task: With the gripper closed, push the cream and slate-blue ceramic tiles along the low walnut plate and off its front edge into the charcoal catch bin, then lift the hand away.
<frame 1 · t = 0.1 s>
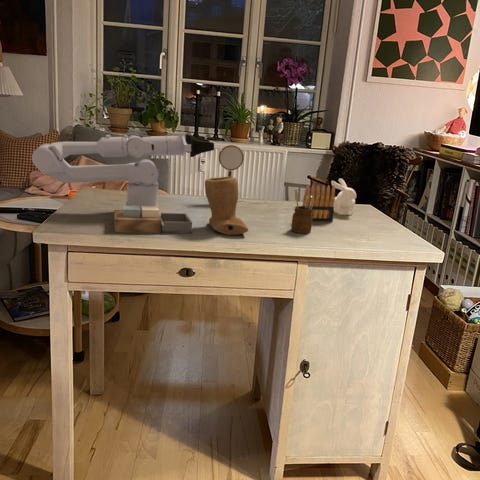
hand: (211, 144, 153), 22 cm above the table, tool horizontal, fingers open, 7 cm apart
tile slate: (131, 214, 137), point 3 cm above the table, touching walnut plate
catch bin: (174, 227, 141), on the table
utensil holder: (300, 231, 150), on the table
tile cream: (149, 215, 138), point 3 cm above the table, touching walnut plate
rabbit: (342, 213, 178), on the table
tan suede boot: (223, 229, 144), on the table
magnifying glass: (227, 202, 179), on the table
ammunition clip: (316, 221, 163), on the table
walnut plate: (136, 227, 138), on the table
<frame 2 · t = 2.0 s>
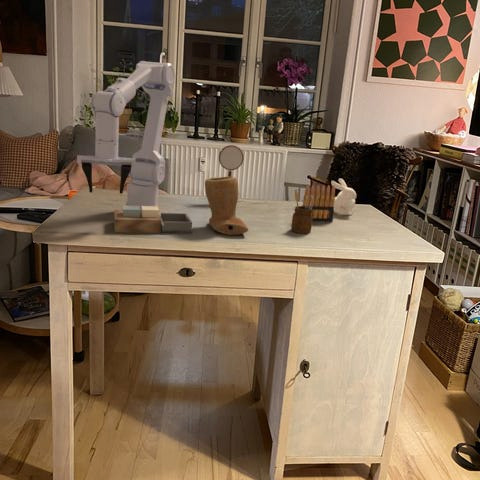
hand: (106, 192, 133), 9 cm above the table, tool pointing down, fingers open, 7 cm apart
nothing on the table moved.
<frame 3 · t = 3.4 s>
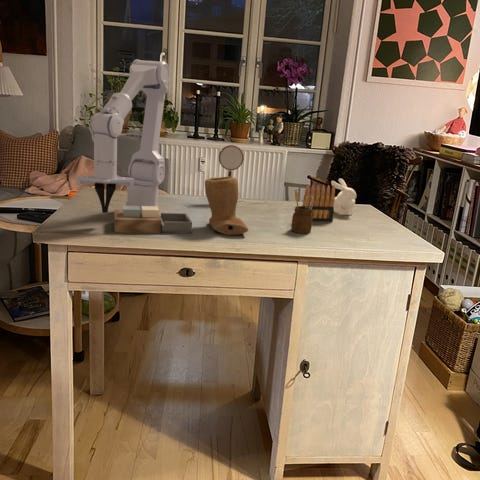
hand: (105, 211, 135), 4 cm above the table, tool pointing down, fingers closed
nothing on the table moved.
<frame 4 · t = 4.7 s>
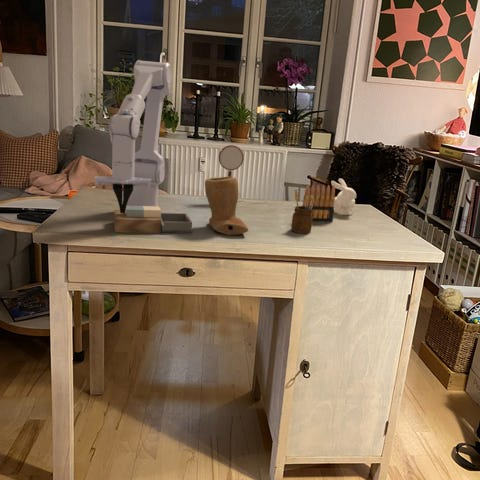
hand: (122, 212, 136), 4 cm above the table, tool pointing down, fingers closed
tile slate: (134, 214, 137), point 3 cm above the table, touching gripper, tile cream, walnut plate
tile cream: (151, 215, 138), point 4 cm above the table, touching tile slate, walnut plate
everything else where it was.
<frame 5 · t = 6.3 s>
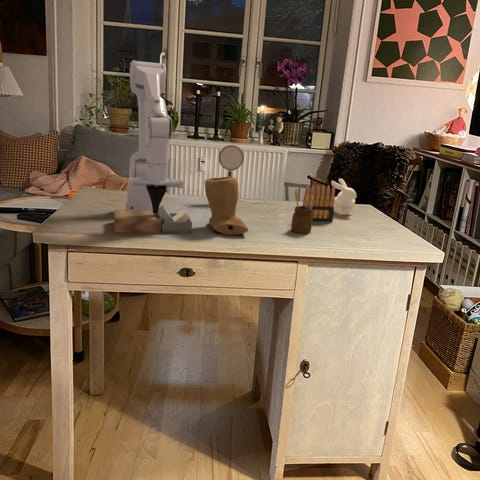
hand: (155, 212, 138), 4 cm above the table, tool pointing down, fingers closed
tile slate: (162, 217, 139), point 3 cm above the table, tilted 50°, touching gripper, tile cream
tile cream: (178, 215, 140), point 4 cm above the table, tilted 141°, touching catch bin, tile slate
everything else where it was.
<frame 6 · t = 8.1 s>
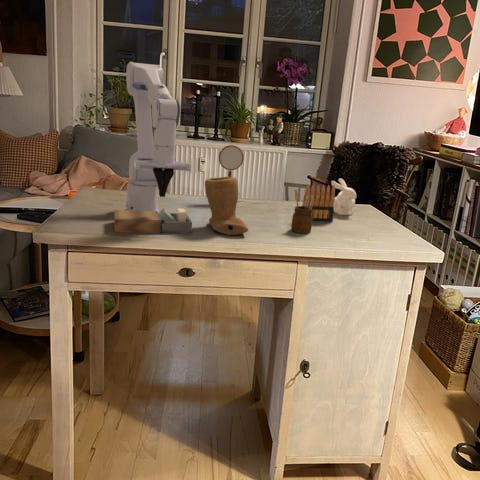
hand: (162, 196, 137), 9 cm above the table, tool pointing down, fingers closed
tile slate: (165, 220, 139), point 2 cm above the table, tilted 42°, touching catch bin, walnut plate
tile cream: (177, 218, 140), point 3 cm above the table, tilted 90°, touching catch bin
everything else where it was.
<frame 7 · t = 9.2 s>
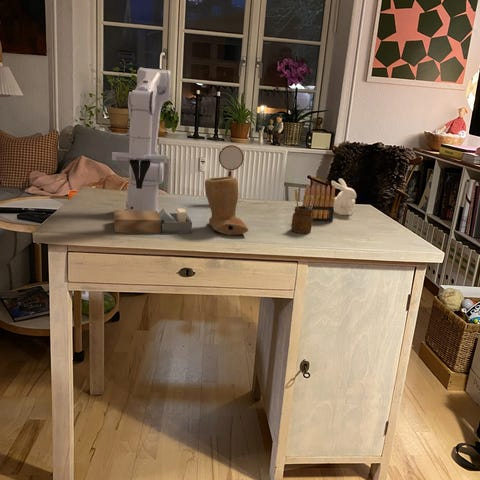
hand: (138, 188, 138), 10 cm above the table, tool pointing down, fingers closed
nothing on the table moved.
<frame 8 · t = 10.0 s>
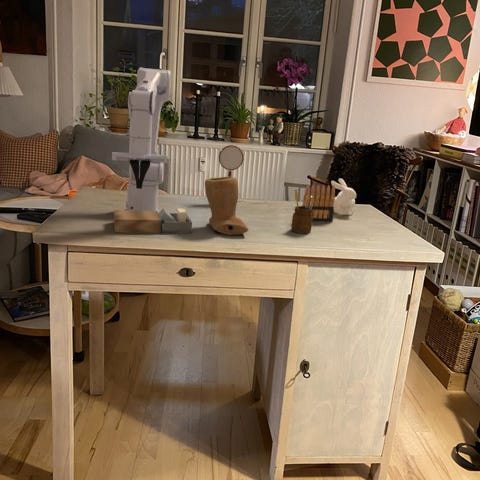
hand: (138, 188, 138), 10 cm above the table, tool pointing down, fingers closed
nothing on the table moved.
at the end: tile cream inside the target area on the catch bin (0.8 cm from its centre), point 2.8 cm above the catch bin's base; tile slate inside the target area on the catch bin (2.7 cm from its centre), point 2.1 cm above the catch bin's base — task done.
